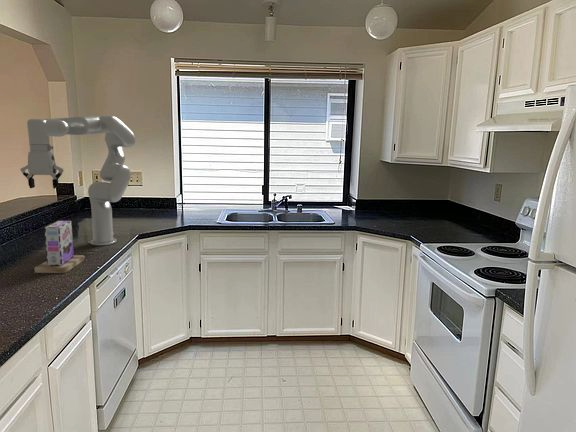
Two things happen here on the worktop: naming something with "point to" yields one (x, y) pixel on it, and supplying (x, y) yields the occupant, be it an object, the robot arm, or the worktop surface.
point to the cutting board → (60, 269)
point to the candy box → (59, 243)
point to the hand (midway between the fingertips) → (44, 187)
